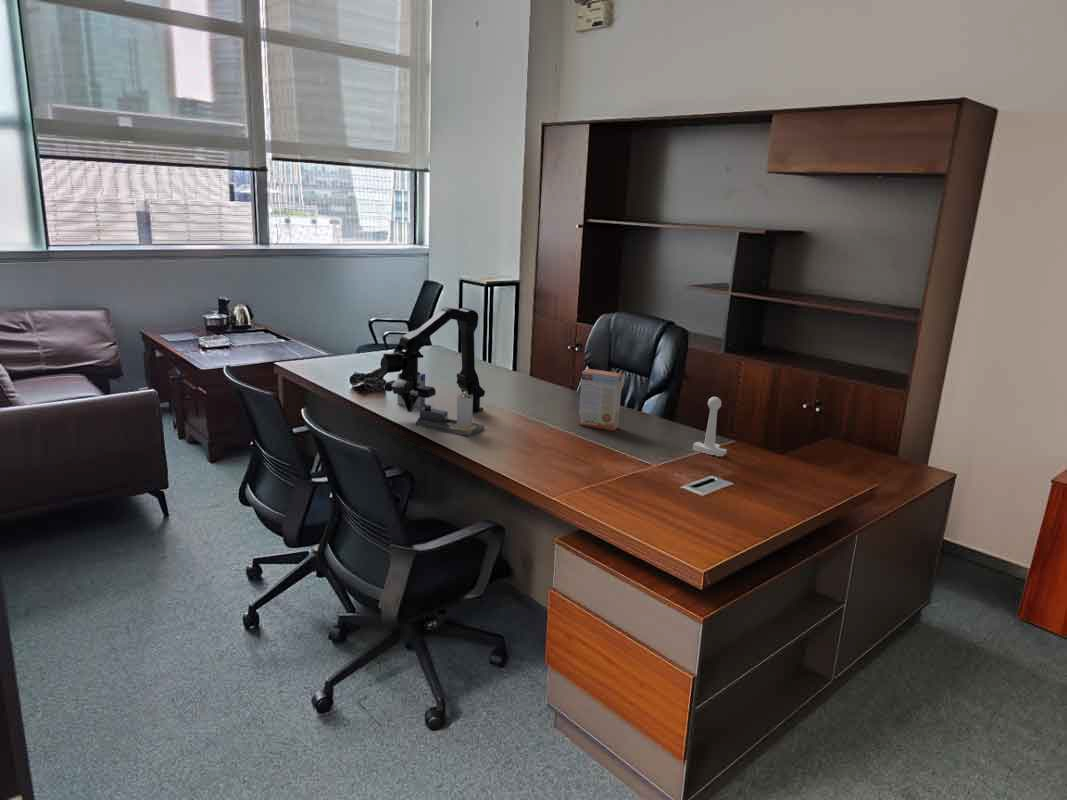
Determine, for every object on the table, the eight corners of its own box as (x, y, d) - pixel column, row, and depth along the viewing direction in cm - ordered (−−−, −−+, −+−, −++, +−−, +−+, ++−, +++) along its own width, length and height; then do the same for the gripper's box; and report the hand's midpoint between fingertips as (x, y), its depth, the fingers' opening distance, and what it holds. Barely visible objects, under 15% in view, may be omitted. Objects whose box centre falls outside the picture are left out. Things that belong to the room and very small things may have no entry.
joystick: (690, 450, 253) (697, 394, 247) (701, 445, 258) (708, 390, 253) (720, 459, 246) (727, 401, 241) (730, 453, 252) (737, 397, 246)
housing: (458, 423, 263) (459, 389, 259) (472, 424, 263) (473, 390, 259) (456, 427, 258) (457, 393, 255) (470, 428, 258) (471, 394, 255)
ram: (424, 416, 269) (425, 403, 267) (448, 421, 265) (448, 408, 263) (419, 419, 265) (419, 406, 264) (443, 423, 262) (443, 410, 260)
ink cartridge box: (425, 403, 291) (426, 367, 287) (420, 407, 286) (421, 371, 282) (402, 400, 293) (402, 365, 289) (396, 404, 288) (397, 368, 284)
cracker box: (618, 427, 274) (623, 373, 268) (613, 431, 269) (618, 376, 263) (583, 421, 279) (587, 367, 274) (577, 425, 274) (581, 370, 268)
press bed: (430, 418, 272) (430, 412, 272) (484, 429, 264) (484, 423, 263) (415, 425, 263) (415, 419, 263) (470, 436, 255) (470, 430, 254)
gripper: (374, 370, 261) (375, 412, 265) (419, 378, 254) (419, 421, 258) (393, 365, 271) (393, 405, 275) (436, 372, 264) (436, 413, 268)
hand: (409, 411), depth 269 cm, fingers closed
